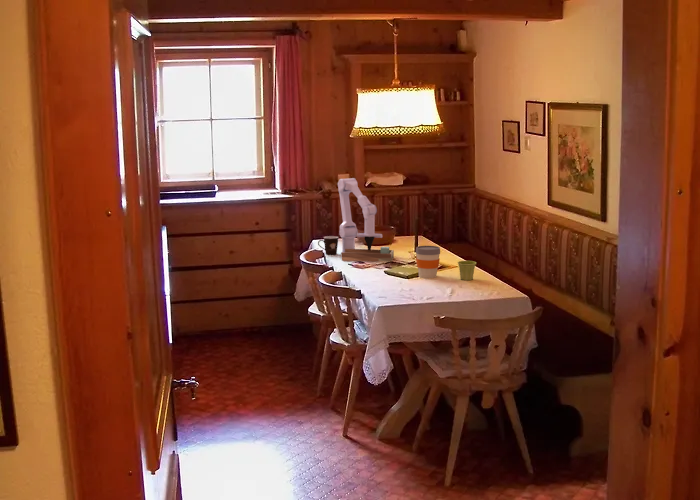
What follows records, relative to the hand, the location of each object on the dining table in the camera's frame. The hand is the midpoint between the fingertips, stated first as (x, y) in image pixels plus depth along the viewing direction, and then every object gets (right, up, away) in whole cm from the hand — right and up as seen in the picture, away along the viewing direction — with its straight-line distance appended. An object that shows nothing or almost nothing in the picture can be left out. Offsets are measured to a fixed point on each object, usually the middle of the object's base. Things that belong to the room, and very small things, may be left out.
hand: (369, 249), depth 487 cm
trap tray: (-1, -5, -2) cm, 6 cm away
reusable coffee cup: (+29, -14, -48) cm, 58 cm away
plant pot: (+48, -15, -55) cm, 75 cm away
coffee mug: (-24, -3, +14) cm, 28 cm away
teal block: (+9, -3, -1) cm, 9 cm away
